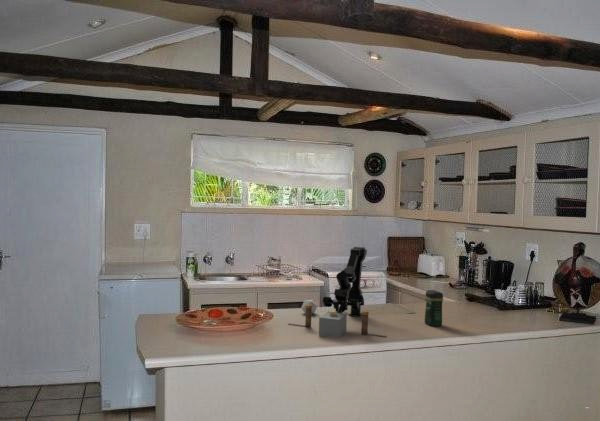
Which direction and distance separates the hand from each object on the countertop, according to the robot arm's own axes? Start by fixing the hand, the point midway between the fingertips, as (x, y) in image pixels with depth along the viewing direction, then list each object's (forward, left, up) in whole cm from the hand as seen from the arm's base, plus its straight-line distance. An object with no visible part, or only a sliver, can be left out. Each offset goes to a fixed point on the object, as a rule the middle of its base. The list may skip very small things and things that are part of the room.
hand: (337, 316), depth 256 cm
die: (-26, -25, -7) cm, 37 cm away
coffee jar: (-35, +44, -7) cm, 57 cm away
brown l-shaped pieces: (+2, 0, -7) cm, 7 cm away
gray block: (+7, 0, -7) cm, 10 cm away
